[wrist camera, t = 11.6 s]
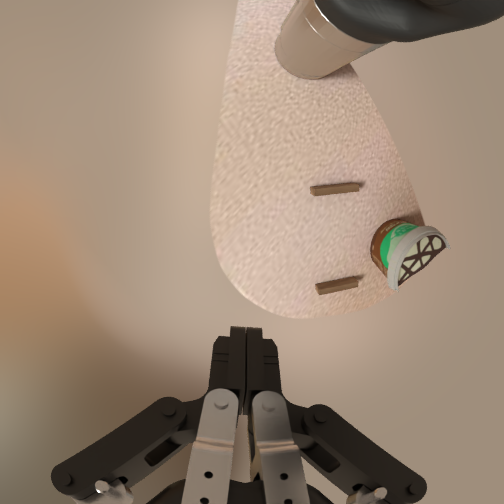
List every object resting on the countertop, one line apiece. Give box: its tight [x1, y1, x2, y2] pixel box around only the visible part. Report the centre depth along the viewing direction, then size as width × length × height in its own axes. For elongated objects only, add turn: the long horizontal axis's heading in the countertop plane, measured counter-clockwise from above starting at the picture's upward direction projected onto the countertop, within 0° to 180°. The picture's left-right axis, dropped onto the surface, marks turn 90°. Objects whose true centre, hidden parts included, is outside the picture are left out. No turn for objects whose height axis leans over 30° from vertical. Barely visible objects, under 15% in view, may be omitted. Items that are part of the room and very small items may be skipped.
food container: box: [370, 219, 450, 292], centre depth 38 cm, size 12×6×10 cm, turn 124°
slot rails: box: [310, 183, 359, 295], centre depth 41 cm, size 17×7×2 cm, turn 7°
